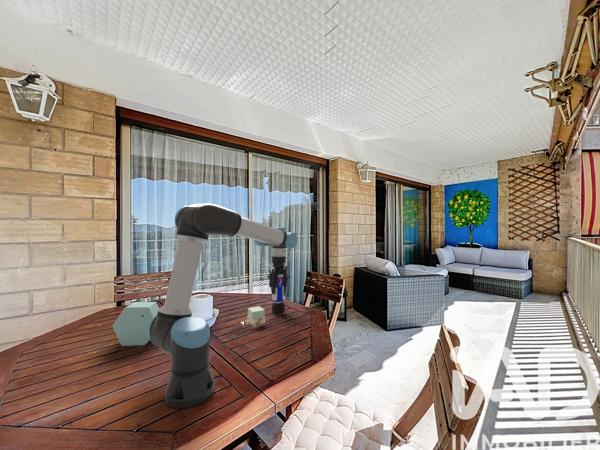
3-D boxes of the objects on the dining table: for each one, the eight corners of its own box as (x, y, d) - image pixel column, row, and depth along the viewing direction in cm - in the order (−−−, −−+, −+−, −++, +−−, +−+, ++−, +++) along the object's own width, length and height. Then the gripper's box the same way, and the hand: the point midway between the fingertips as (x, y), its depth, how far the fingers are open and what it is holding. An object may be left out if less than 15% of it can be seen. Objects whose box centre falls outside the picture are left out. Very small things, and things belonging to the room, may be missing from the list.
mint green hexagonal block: (146, 347, 124) (171, 311, 125) (137, 355, 116) (164, 317, 117) (115, 328, 122) (140, 292, 123) (104, 336, 114) (132, 297, 115)
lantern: (289, 318, 152) (290, 267, 151) (264, 317, 152) (265, 267, 151) (290, 309, 166) (291, 263, 166) (267, 309, 167) (268, 263, 166)
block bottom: (254, 327, 137) (254, 319, 137) (247, 323, 142) (247, 316, 142) (264, 323, 142) (265, 316, 142) (257, 319, 147) (257, 313, 147)
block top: (252, 319, 137) (252, 312, 137) (247, 315, 143) (247, 308, 143) (264, 317, 141) (264, 309, 141) (259, 313, 147) (259, 306, 147)
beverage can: (278, 304, 135) (279, 275, 135) (271, 302, 138) (271, 274, 137) (284, 301, 139) (285, 274, 139) (276, 299, 142) (277, 272, 142)
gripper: (273, 258, 129) (272, 304, 129) (294, 254, 144) (293, 296, 144) (262, 256, 133) (261, 301, 133) (283, 253, 148) (282, 293, 148)
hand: (277, 298), depth 138 cm, fingers closed on beverage can, 5 cm apart
